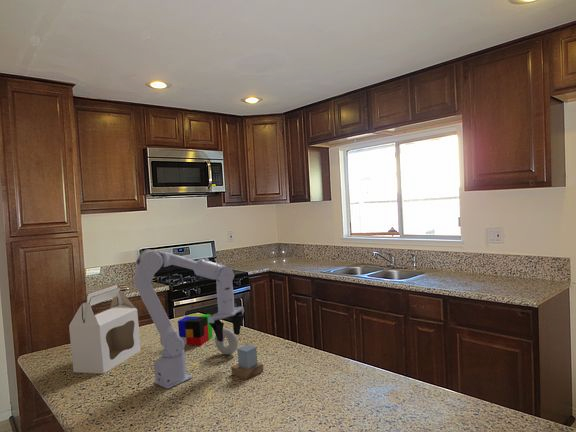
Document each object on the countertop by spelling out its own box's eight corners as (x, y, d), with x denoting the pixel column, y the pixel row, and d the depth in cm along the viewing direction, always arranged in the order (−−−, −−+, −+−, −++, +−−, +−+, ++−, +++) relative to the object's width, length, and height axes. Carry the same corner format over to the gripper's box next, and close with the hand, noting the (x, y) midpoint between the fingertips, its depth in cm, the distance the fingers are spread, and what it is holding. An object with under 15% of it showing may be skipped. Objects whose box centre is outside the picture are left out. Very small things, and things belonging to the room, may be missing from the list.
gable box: (103, 374, 142) (95, 296, 141) (72, 372, 146) (65, 296, 145) (141, 350, 164) (135, 282, 163) (114, 349, 167) (107, 283, 166)
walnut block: (246, 381, 129) (245, 372, 129) (231, 375, 135) (231, 366, 134) (263, 372, 135) (262, 364, 135) (248, 367, 140) (248, 359, 140)
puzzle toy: (179, 344, 167) (177, 321, 167) (192, 336, 177) (190, 314, 176) (201, 345, 164) (199, 321, 164) (212, 337, 174) (210, 314, 174)
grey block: (247, 369, 131) (246, 351, 131) (238, 366, 134) (236, 348, 134) (258, 364, 135) (256, 346, 134) (248, 361, 138) (247, 344, 137)
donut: (240, 354, 151) (238, 328, 151) (235, 357, 148) (233, 331, 148) (220, 351, 156) (218, 325, 156) (214, 354, 153) (212, 328, 153)
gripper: (216, 305, 133) (219, 346, 133) (248, 296, 144) (251, 333, 144) (203, 303, 138) (206, 342, 138) (235, 294, 148) (238, 330, 149)
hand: (228, 337), depth 142 cm, fingers open, 7 cm apart
